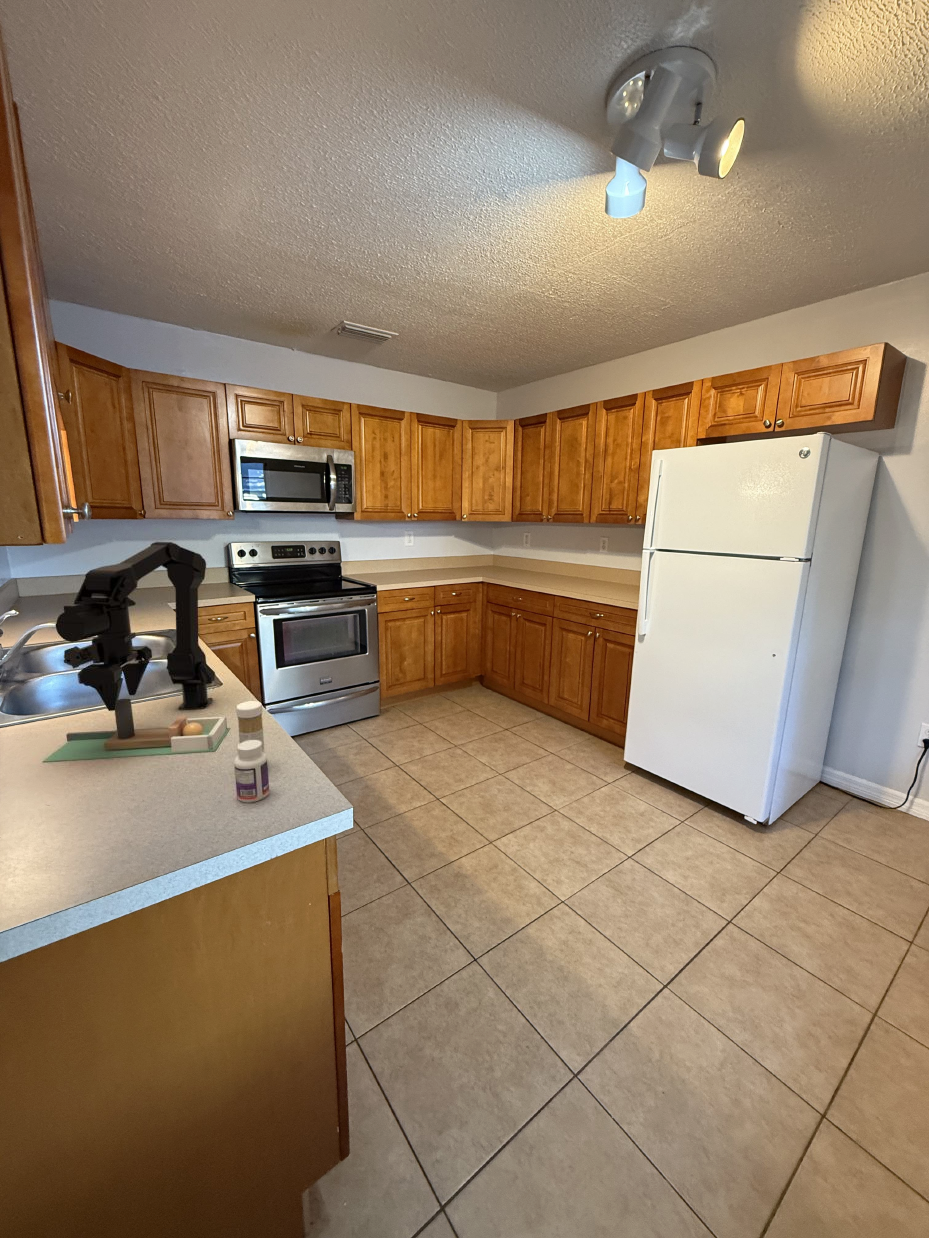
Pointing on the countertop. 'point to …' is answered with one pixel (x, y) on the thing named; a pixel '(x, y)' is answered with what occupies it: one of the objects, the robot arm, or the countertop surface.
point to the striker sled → (140, 731)
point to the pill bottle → (251, 772)
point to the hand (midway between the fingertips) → (122, 702)
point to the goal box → (201, 741)
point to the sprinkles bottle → (250, 722)
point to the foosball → (192, 729)
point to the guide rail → (96, 734)
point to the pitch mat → (97, 750)
